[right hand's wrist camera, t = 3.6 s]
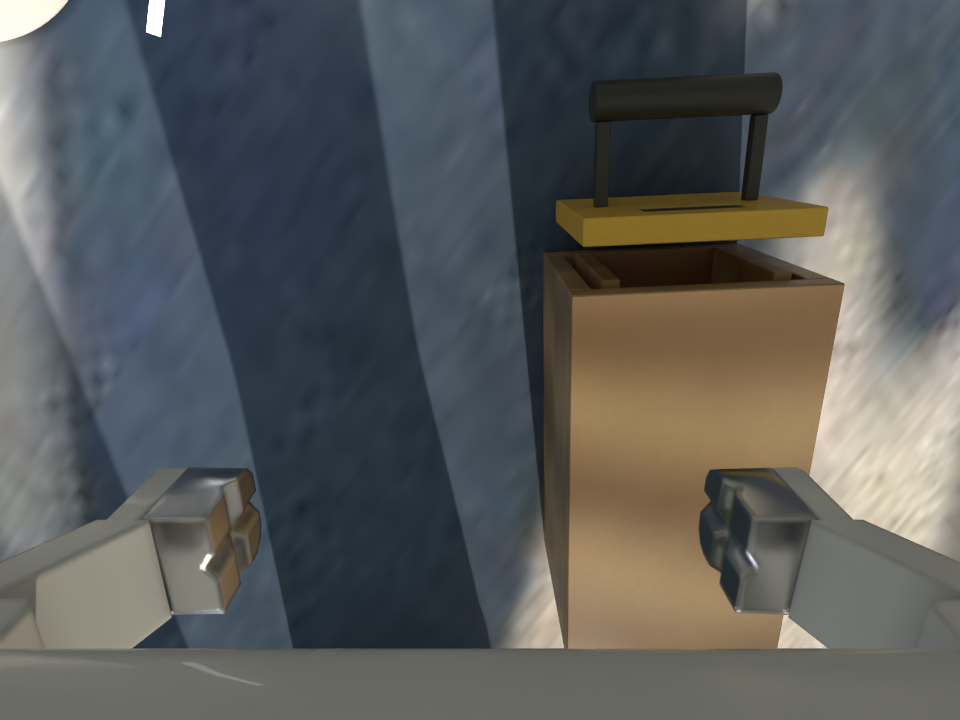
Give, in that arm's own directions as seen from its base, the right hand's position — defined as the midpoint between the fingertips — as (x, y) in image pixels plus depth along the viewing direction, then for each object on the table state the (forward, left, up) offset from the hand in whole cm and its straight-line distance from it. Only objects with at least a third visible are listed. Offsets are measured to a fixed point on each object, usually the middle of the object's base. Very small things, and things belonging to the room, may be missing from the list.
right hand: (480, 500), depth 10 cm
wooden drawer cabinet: (+11, +9, -25) cm, 28 cm away
